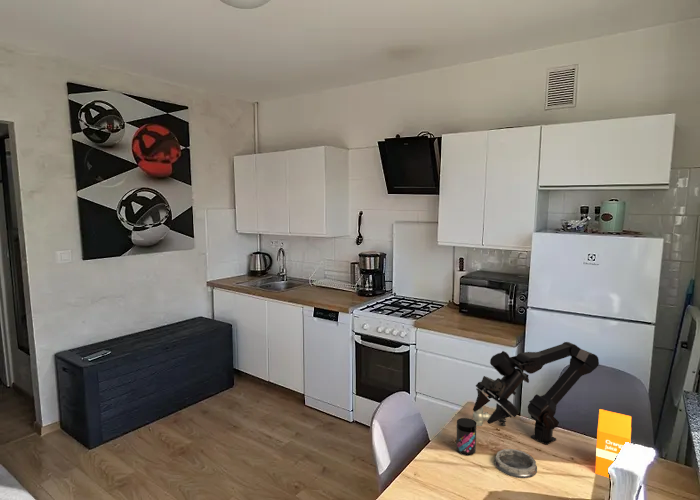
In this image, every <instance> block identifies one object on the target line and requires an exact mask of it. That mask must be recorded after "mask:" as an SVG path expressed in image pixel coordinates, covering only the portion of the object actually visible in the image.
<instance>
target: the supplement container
mask: <svg viewBox="0 0 700 500" xmlns="http://www.w3.org/2000/svg"><path fill="white" fill-rule="evenodd" d="M477 427H478V426H477V424H476V422H475V421H474V419H472V418H469V417H460V418H457V420H456V439H455V440H456V446H455V447H456V448H455V449H456V450H457V452H458V454H461V455H463V456H473V455H474V454H476V452H477Z"/></svg>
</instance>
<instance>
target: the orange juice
mask: <svg viewBox="0 0 700 500" xmlns="http://www.w3.org/2000/svg"><path fill="white" fill-rule="evenodd" d="M598 411H599V412H598V423H597V432H596V448H595V450H596V451H595V452H596V453H595V471H594V473H595V474H596V475H599V476H602V477H605V478H608V479H610V478H609V474H608V467H609V466H610V465H611V464H612V463H613V462H614V460H615V458H616V456H617V455H618V453H619V452H620V450H621V448H622V446H623V445H624V444H625V442H629V443H631V440H632V439H631V438H632V416H631V415H627V414H623V413H618V412H614V411H609V410H605V409H601V408H600V409H599V410H598Z"/></svg>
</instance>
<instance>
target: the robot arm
mask: <svg viewBox="0 0 700 500" xmlns="http://www.w3.org/2000/svg"><path fill="white" fill-rule="evenodd" d="M567 357H570V359H569V366H568V368H567V369H566V370H565V371H564V372H563V373H562V374H561V375H560V377H559V378H558V379H557V380H556V381H555V382H554V384H552V386H551V387H550V388H549V389H548V390H547V392H545V394H542V395H539V394H535V395H534V397H533V398H532V399H531V400H530V401H528V402H529V403H528V406H527V411H528V414H529V415H530V417H531V419H533V420H534V421H535V422H534V434H532V435H530V438H531V439H533V440H536V442H537V441H538V442H539V443H541V444H543V445H546V446H547V445H549V444H552V443H553V442H556V441H557V438H556V437H554V436H553V432H554V430H555V429H556V428H558V427H559V424H560V422H559V421H558V419H557V418H555V417H554V416H555V415H556V412H557V405H558V404H559V402H561V400H562V399H563V397H565V396H566V394H568V392H569V391H570V390H571V389H572V387H573V386H574V385H575V384H576V383H577V382H578V381H579V380H580V379H581V377H582V376H585V375H588V374H591V373H592V372H594V370H596V369H597V368H598V367H599V364H600V361H599V359H600V358H599V357H598V355H596V354H595V353H592V352H590V351H588V350H585V349H582V348H581V347H579V346H578V345H577V344H575V343H572V342H569V341H564V342H562V343H561V344H558V345H555V346H552V347H549V348H545V349H543V350H539V351H527V352H520V353H518V354H516V355H513V356H510V355H509V354H508V352H507V351H504V350H502V351H501V352H498V353H495V354H494V355H492V356H491V358H490V360H489V363H490V365H491V366H492V367H493V368H494V370H496V371H497V373H498V374H500V375H501V376H502V377H501V378H499V377H498V378H496V379H493V378H491V377H487V376H485V375H483V377H482V380H480V381H478V382H477V383H476V385H475V387H476V391H477V398H476V400H475V403H474V406H473V407H472V411H474V412H475V411H477V410H479V409H480V408H481V407H482V408H484V407H485V405H486V404H488V403H489V402H491V399H493V400H494V401H496V404H495V405H496V406H495V410H494V411H493V412H492V415H491V414H490V415H491V416H490V418H489V419H488V420H486V422H487V424H488V425H490V424H493V423H496V422H499V421H498V420H501V419H504V418H505V419H507V418H512V417H513V418H516V417H517V416H518V414H519V409H518V408H517V407H516V406H515V404H513V403H512V401H510V400H508V399H509V398H510V397H511V396H512V395H514V396H516V394H517V392H516V390H517V389H518V387H519V386H520V385H521V384H522V383H523V381H524V382H525V383H528V384H529V383H530V380H529V374H530V375H532V374H535V373H537V372H539V371H540V370H542V369H543V367H544V366H546V365H547V364H550V363H553V362H556V361H559V360H562V359H565V358H567ZM523 371H524V372H523ZM474 412H473V413H474Z"/></svg>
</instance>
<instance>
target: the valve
mask: <svg viewBox="0 0 700 500" xmlns="http://www.w3.org/2000/svg"><path fill="white" fill-rule="evenodd" d="M472 411H473V410H472ZM492 414H493V413H492ZM492 414H489V413H488V412H486V411H485V412H484V407H481V408H480V409H479V410H477V411H475V412H474V411H473V413H472V418H473V419H472V420H474V421H475V422H476V424H477V426H476V427H482V426H483V424H484V421H488V419H489V418H490V416H491V415H492ZM497 422H499V423H500V425H501V426H503V427H504V426H506V422H507V418H504V419H501V420H498V421H497Z"/></svg>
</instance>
